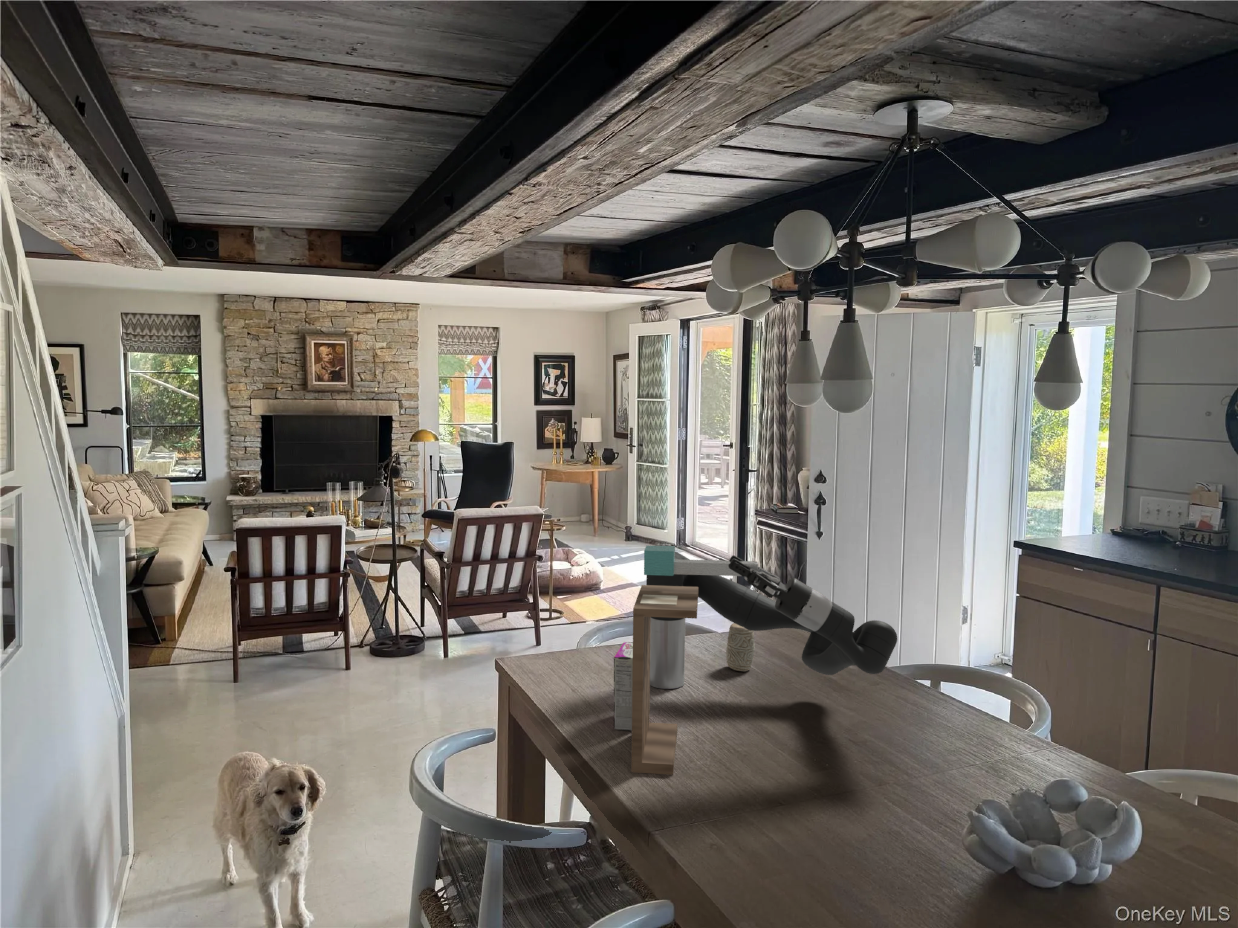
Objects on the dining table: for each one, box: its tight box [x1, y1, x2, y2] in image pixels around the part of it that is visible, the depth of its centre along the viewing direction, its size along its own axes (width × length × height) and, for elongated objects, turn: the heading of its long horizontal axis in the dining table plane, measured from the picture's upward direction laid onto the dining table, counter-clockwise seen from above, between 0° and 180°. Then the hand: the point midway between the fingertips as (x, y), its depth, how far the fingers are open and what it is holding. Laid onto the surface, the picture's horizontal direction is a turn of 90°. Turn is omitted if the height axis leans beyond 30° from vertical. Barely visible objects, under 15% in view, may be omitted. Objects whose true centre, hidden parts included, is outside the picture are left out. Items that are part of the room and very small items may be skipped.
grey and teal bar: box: [643, 545, 759, 577], centre depth 170 cm, size 6×23×5 cm, turn 84°
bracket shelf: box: [630, 584, 699, 776], centre depth 167 cm, size 20×12×32 cm, turn 174°
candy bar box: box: [613, 641, 633, 732], centre depth 183 cm, size 11×5×16 cm, turn 168°
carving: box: [725, 622, 756, 673], centre depth 220 cm, size 6×8×12 cm
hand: (730, 561), depth 169 cm, fingers closed on grey and teal bar, 3 cm apart
